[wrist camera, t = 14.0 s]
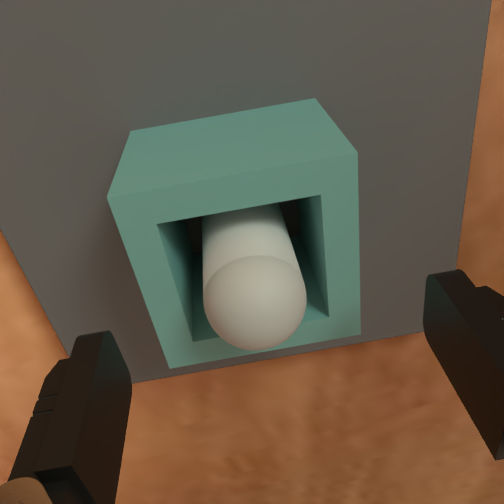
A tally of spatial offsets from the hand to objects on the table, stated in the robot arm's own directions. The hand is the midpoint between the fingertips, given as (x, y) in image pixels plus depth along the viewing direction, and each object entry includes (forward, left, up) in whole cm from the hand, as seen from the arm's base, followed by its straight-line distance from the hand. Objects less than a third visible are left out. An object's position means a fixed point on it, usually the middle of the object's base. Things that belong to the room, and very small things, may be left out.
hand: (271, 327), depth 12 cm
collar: (0, 0, -7) cm, 7 cm away
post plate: (0, 0, -9) cm, 9 cm away
